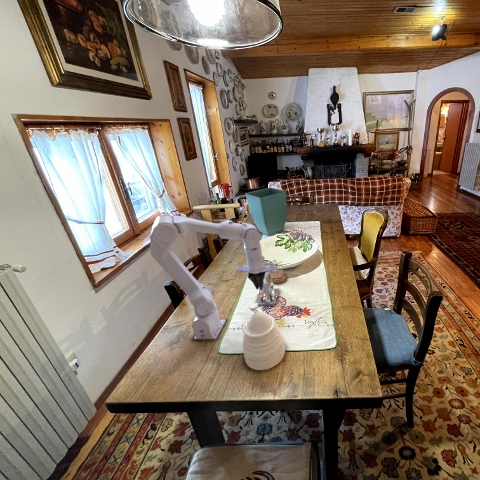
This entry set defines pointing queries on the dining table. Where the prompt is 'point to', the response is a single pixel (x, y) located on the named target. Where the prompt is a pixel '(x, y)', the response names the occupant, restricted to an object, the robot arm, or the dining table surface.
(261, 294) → the tap lever
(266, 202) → the flower pot
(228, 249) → the dining table surface
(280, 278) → the cookie
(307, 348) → the dining table surface
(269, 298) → the bracket
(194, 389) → the dining table surface
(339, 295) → the dining table surface
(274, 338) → the honey pot
